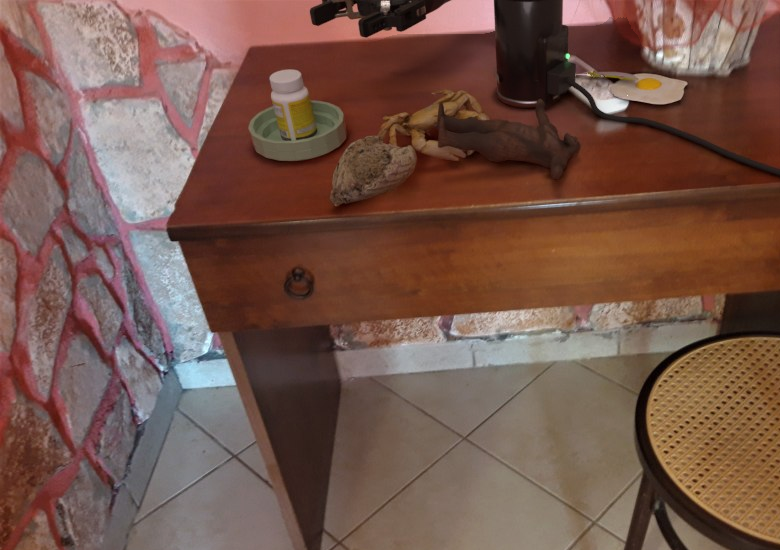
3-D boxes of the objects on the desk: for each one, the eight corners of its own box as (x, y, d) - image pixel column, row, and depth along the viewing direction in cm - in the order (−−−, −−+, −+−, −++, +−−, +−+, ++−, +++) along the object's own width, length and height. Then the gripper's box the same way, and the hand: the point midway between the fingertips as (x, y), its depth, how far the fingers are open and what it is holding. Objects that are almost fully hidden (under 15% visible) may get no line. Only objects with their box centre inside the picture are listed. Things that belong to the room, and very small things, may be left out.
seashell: (335, 231, 92) (376, 209, 84) (297, 182, 90) (336, 154, 82) (394, 184, 98) (437, 159, 91) (360, 136, 96) (402, 107, 88)
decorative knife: (647, 71, 112) (635, 79, 109) (647, 74, 112) (635, 83, 109) (575, 68, 117) (561, 76, 114) (575, 72, 118) (561, 80, 114)
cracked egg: (628, 70, 117) (628, 62, 116) (698, 80, 112) (699, 72, 111) (599, 95, 110) (599, 87, 109) (673, 107, 105) (674, 98, 105)
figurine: (437, 76, 97) (574, 97, 101) (432, 113, 100) (564, 132, 104) (442, 147, 84) (598, 168, 88) (436, 187, 88) (586, 205, 92)
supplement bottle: (322, 129, 104) (309, 68, 98) (312, 146, 100) (298, 83, 95) (288, 129, 104) (273, 67, 98) (276, 145, 101) (260, 83, 95)
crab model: (429, 181, 93) (426, 138, 89) (361, 150, 99) (356, 108, 96) (514, 141, 102) (515, 101, 98) (446, 115, 108) (445, 76, 104)
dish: (366, 134, 104) (363, 112, 102) (300, 173, 96) (295, 151, 94) (301, 113, 109) (297, 92, 107) (234, 149, 101) (228, 128, 99)
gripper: (456, 24, 109) (381, 63, 100) (380, 7, 115) (302, 42, 106) (452, -33, 104) (373, 2, 94) (373, -48, 110) (290, -16, 100)
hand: (336, 23), depth 100 cm, fingers open, 8 cm apart
